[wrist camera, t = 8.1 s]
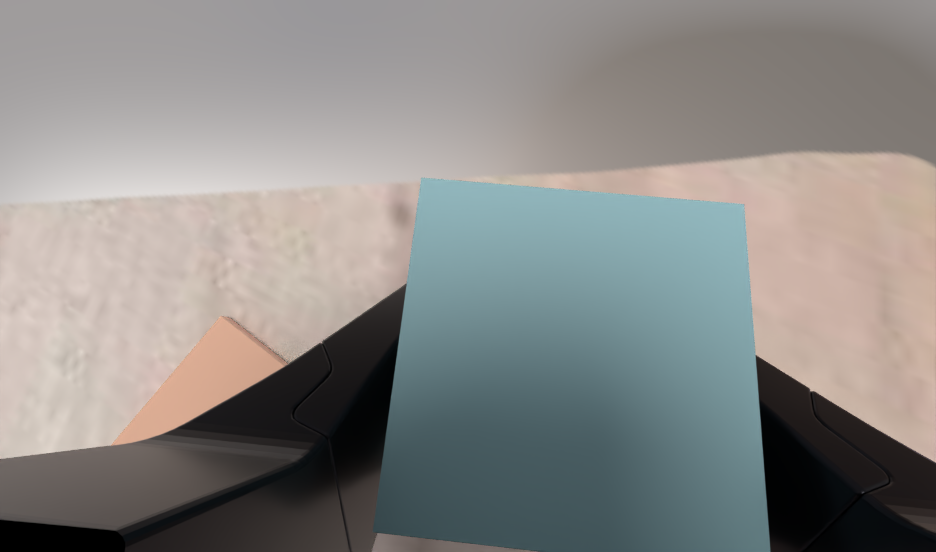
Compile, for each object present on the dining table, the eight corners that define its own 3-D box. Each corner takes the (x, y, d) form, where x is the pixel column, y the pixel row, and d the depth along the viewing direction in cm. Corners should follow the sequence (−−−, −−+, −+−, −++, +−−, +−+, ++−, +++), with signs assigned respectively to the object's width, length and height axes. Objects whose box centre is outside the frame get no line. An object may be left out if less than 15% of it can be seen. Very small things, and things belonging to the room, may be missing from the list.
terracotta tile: (238, 615, 18) (227, 625, 18) (93, 479, 20) (78, 483, 19) (371, 429, 20) (367, 432, 19) (230, 317, 22) (220, 315, 21)
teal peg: (563, 434, 15) (772, 578, 4) (442, 422, 15) (372, 531, 5) (567, 314, 16) (744, 204, 5) (455, 303, 16) (421, 177, 6)
